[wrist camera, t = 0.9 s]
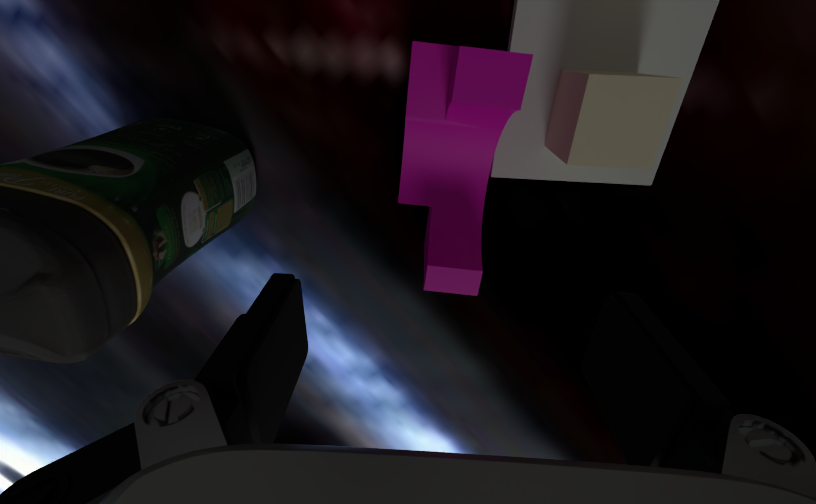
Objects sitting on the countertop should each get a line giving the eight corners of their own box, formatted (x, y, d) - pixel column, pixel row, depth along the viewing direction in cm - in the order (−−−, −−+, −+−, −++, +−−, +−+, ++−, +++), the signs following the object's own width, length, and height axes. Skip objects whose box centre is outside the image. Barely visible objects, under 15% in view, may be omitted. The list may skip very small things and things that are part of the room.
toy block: (414, 41, 25) (410, 40, 19) (506, 52, 25) (533, 54, 19) (396, 237, 33) (388, 286, 26) (467, 245, 33) (477, 295, 26)
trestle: (778, -194, 19) (908, -284, 14) (644, 181, 29) (692, 210, 24) (544, -200, 20) (586, -291, 14) (489, 173, 29) (502, 200, 24)
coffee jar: (149, 203, 32) (-141, 365, 16) (133, 106, 28) (-270, 188, 12) (262, 224, 32) (95, 403, 16) (262, 132, 29) (42, 245, 12)
